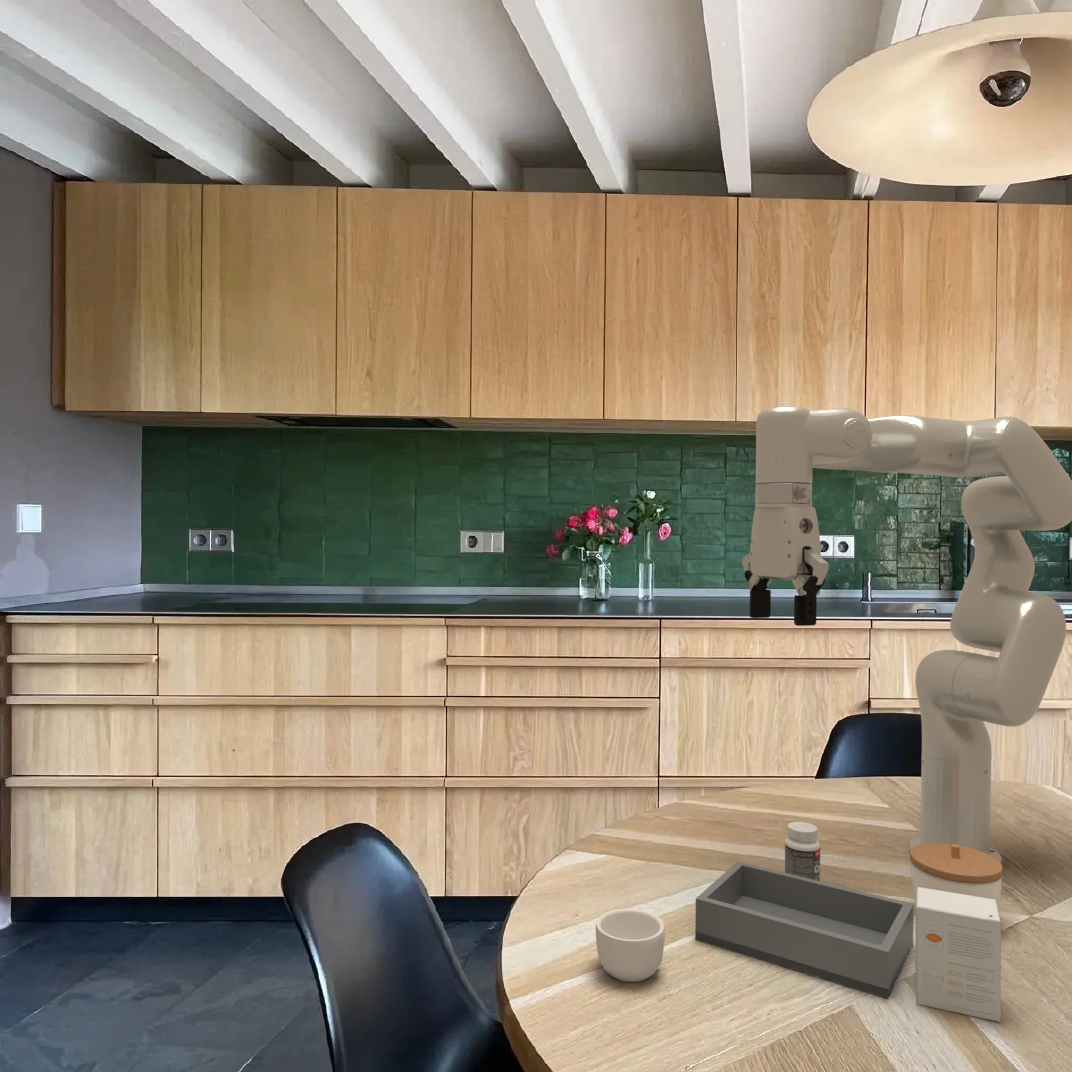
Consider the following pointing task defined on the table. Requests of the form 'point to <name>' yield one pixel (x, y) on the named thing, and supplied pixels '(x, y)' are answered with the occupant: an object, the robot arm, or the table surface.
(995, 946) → the small box
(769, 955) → the tote
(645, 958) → the teacup
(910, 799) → the table surface
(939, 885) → the lidded jar
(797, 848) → the pill bottle
